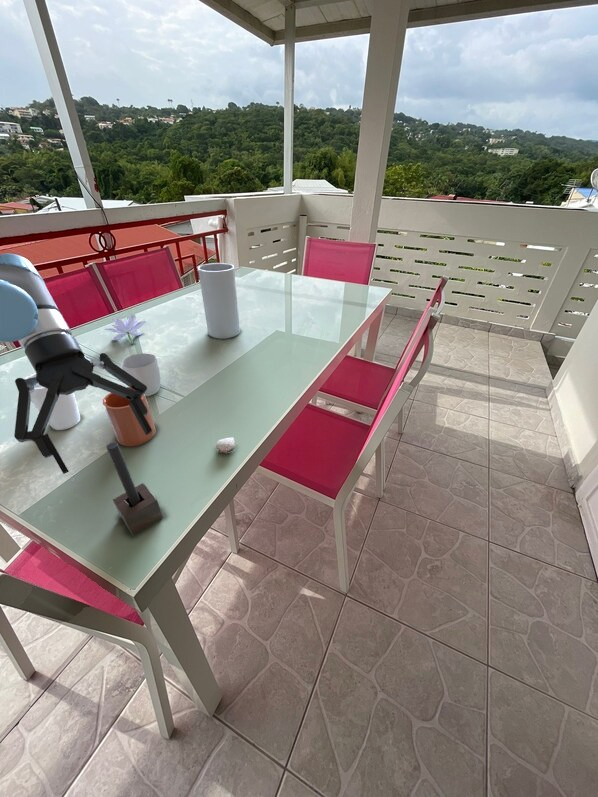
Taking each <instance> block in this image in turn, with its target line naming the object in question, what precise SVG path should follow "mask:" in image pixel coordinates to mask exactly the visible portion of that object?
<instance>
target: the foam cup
mask: <svg viewBox="0 0 598 797" xmlns="http://www.w3.org/2000/svg"><path fill="white" fill-rule="evenodd" d="M34 377H36V372H34V373H30V374H29V375H28V376H25V377H24V378H23V379H29V378H34ZM47 390H48V389H47V388H45V387H43V386H41V385H39V384H38V385H36V386H35V390H34V391H33V392H31V393H30V395H31V403H32V404H33V405H34V407H35V408H36V409H37V411H38V413H39V412H40V409H41V407H42V404H43V402H44V399H45V397H46V393H47ZM80 421H81V414H80V411H79V407H78V403H77V399H76V395H75V392H73V393H72V394H69V395H62V394H60V395H59V398H58V400H57V402H56V404H55V406H54V409H53V411H52V414H51V416H50V419H49V422H48V424H49V426H51V428H52V429H53V430H56V431H63V430H67V429H70V428H73V427H74V426H76V425H78V424H79V423H80Z"/></svg>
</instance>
